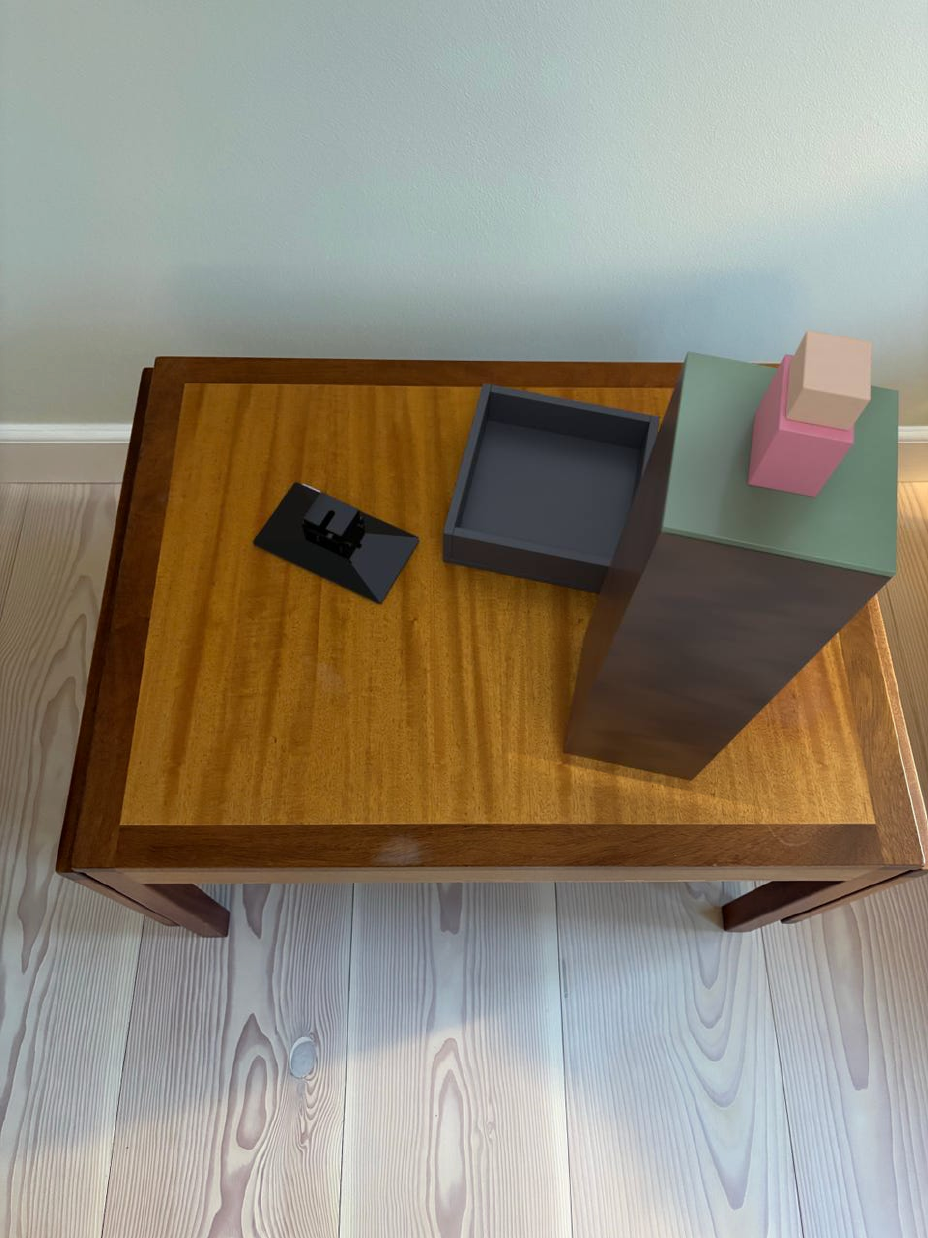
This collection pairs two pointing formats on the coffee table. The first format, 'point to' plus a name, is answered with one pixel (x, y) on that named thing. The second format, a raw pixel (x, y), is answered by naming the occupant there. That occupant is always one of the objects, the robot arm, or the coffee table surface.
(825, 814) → the coffee table surface
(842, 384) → the pink block
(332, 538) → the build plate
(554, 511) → the basin
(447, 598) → the coffee table surface
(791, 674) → the stand
